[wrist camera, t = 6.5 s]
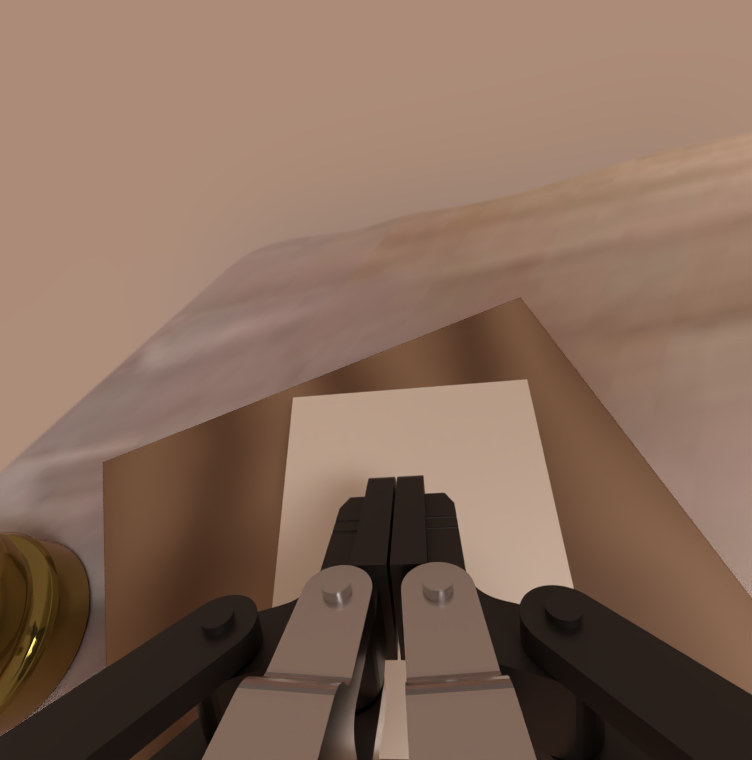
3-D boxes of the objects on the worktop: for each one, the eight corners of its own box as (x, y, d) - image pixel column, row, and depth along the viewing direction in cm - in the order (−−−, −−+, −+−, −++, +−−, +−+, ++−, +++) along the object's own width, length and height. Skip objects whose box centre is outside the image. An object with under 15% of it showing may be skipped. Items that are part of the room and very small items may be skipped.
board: (516, 312, 22) (520, 297, 21) (814, 713, 13) (846, 721, 12) (119, 470, 21) (102, 462, 20) (142, 1043, 12) (113, 1084, 11)
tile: (595, 749, 13) (521, 396, 19) (613, 764, 11) (526, 379, 17) (275, 742, 14) (302, 412, 20) (257, 755, 12) (292, 397, 18)
